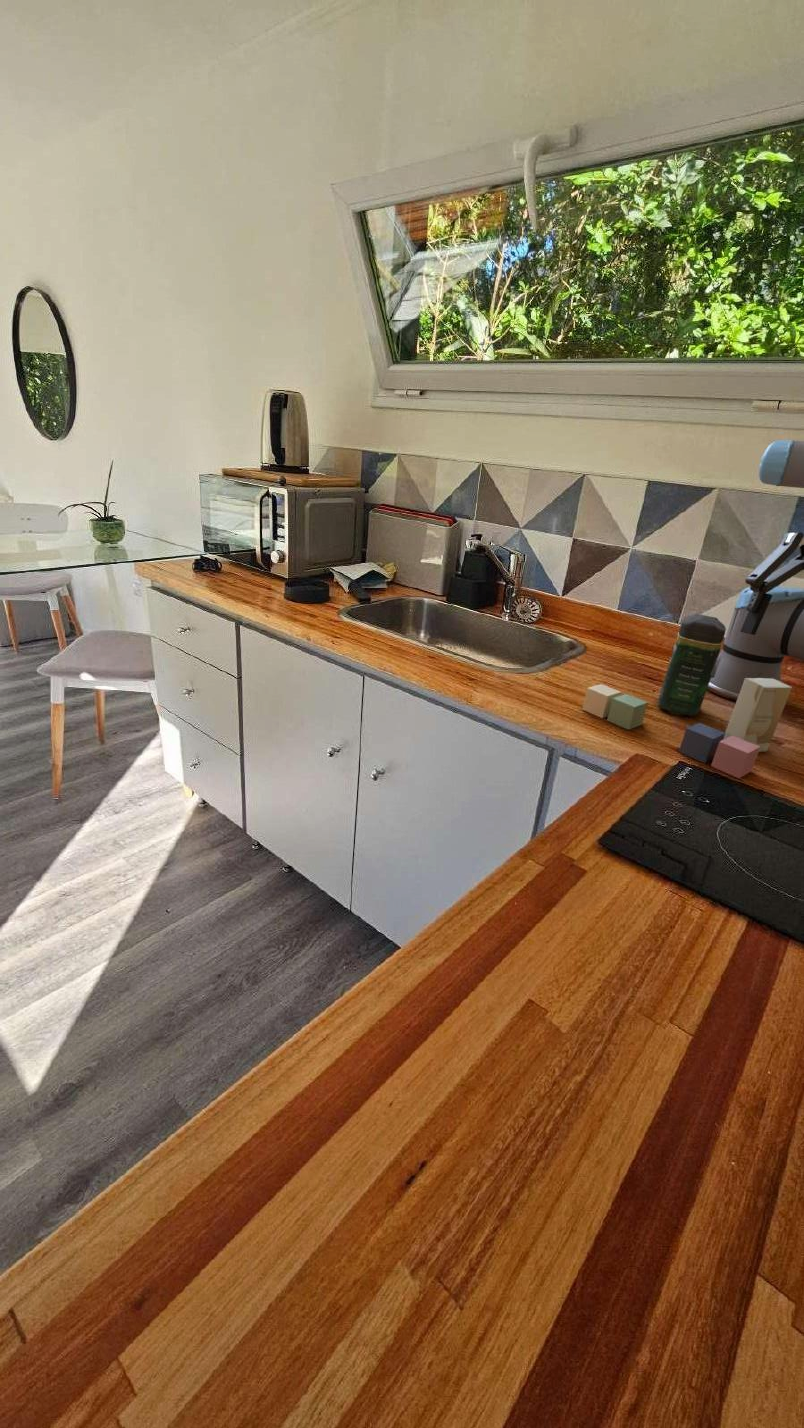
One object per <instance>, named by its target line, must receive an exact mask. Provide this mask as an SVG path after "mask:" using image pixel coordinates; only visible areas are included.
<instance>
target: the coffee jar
mask: <svg viewBox="0 0 804 1428" xmlns="http://www.w3.org/2000/svg"><path fill="white" fill-rule="evenodd" d="M678 629H679V630H678V632H677V636H676V638H675V642H674V646H673V649H672V652H671V656H670V659H669V663H668V667H667V668H666V669H667V670H666V672H665V675H664V680H663V682H662V686H661V689H660V692H659V696H658V699H657V705H658V707H659V708H660V709H662V710H664V711H667V712H668V713H670V714H674V715H676V716H689V717H695V716H697V715H698V714H699V712H700V710H701V708H702V705H703V702H704V700H705V696H706V693H707V691H708V690H707V687H708V685H709V682H710V679H711V676H712V673H713V670H714V668H715V665H716V661H717V658H718V655H719V654H720V652H721V650H722V646H723V643H724V640H725V636H726V632H727V631H726V630H727V629H726V626H725V624H724V623H723V622H722V621H720V620H719V618H717V617H716V616H710V615H705V614H700V613H695V614H693V615H690V616H687V617H685V618H683V620H682V621H681V623H680V627H679V628H678Z"/></svg>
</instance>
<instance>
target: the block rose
mask: <svg viewBox="0 0 804 1428" xmlns="http://www.w3.org/2000/svg"><path fill="white" fill-rule="evenodd" d="M759 749H760V746H757V745H755V744H752V743H750V742H747V741H745V740H742V739H740V738H737V737H735V736H730V737H728V738H726V739H724V740H722V741H720V742H719V744H718V747H717V750H716V753H715V756H714V759H712V762H711V764H710V767H712V768H714V769H716V770H719V771H722V772H723V773H726V774H728V775H731V776H732V777H734V778H737V779H740V778H742V777H744V776H746V775H747V774H749V773H751V772H752V770H753V768H754V765H755V763H756V760H757V757H758V754H759V753H760V752H759Z"/></svg>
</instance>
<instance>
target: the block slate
mask: <svg viewBox="0 0 804 1428" xmlns="http://www.w3.org/2000/svg"><path fill="white" fill-rule="evenodd" d="M724 736H725V732H724V731H722V730H720V729H717V728H714V727H712V726H709V725H707V724H704V723H701V722H698V723H694V724H693V725H690V726H688V727H686V728H685V731H684V734H683V737H682V739H681V744H680V747H679V750H678V753H680V754H682V755H685V756H687V757H689V758H691V759H694V760H696V761H697V762H698V761H699V762H701V763H703V764H706V763H708V762H710V761H713V759H714V756H715V753H716V750H717V747H718V744H719V742H720V741H722V740H723V739H724Z"/></svg>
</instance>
